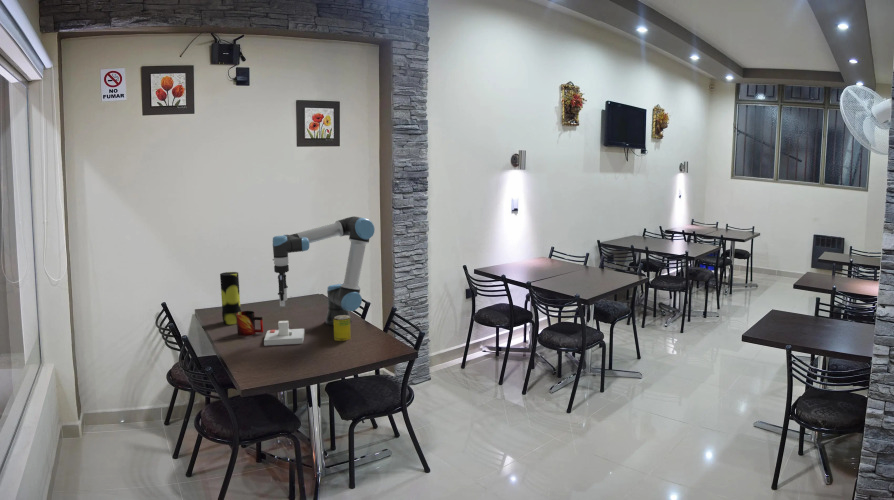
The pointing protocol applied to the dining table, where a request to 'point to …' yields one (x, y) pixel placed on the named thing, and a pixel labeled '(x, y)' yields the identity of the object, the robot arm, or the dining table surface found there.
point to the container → (230, 297)
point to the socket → (284, 337)
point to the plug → (283, 328)
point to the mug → (248, 323)
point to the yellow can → (342, 328)
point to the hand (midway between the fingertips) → (283, 303)
